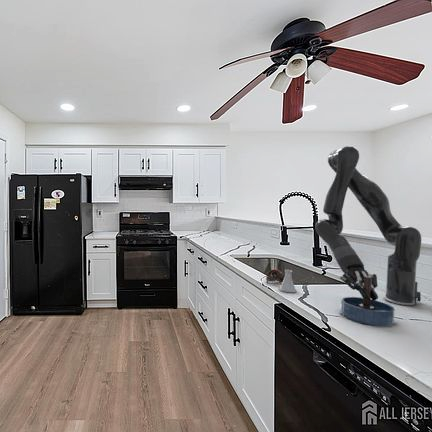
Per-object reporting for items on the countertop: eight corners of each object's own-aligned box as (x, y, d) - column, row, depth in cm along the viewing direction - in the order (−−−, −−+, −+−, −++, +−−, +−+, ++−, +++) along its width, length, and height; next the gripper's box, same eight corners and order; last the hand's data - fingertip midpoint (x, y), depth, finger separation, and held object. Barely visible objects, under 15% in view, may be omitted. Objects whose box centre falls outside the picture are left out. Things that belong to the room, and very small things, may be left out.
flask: (295, 294, 131) (296, 272, 131) (278, 291, 135) (279, 270, 135) (296, 290, 138) (297, 269, 137) (280, 287, 141) (281, 267, 141)
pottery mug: (290, 287, 144) (284, 273, 143) (272, 293, 147) (265, 280, 145) (283, 275, 155) (278, 263, 154) (267, 281, 158) (261, 269, 157)
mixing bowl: (368, 310, 112) (369, 296, 112) (405, 327, 97) (406, 311, 97) (331, 310, 111) (332, 296, 111) (363, 327, 96) (364, 311, 96)
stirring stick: (366, 311, 106) (368, 275, 106) (376, 316, 102) (379, 278, 101) (355, 311, 106) (357, 275, 105) (365, 316, 102) (367, 278, 101)
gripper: (336, 253, 110) (359, 294, 98) (369, 254, 111) (397, 294, 99) (326, 264, 116) (347, 304, 104) (358, 264, 116) (383, 303, 105)
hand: (371, 299), depth 102 cm, fingers closed on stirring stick, 2 cm apart
